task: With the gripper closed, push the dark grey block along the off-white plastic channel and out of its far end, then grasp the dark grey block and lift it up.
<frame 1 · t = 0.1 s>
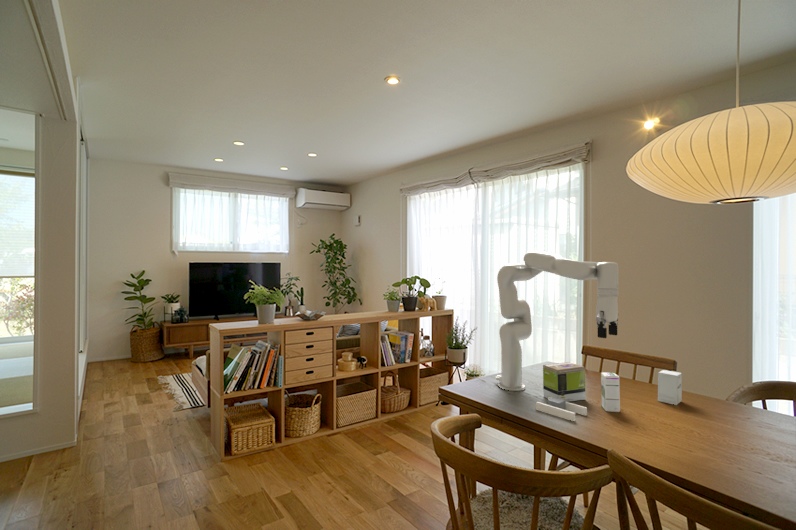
hand: (607, 336, 159), 31 cm above the table, tool pointing down, fingers open, 9 cm apart
tea box: (563, 398, 179), on the table
channel: (560, 412, 162), on the table
block: (556, 411, 163), on the table
supplement box: (669, 401, 175), on the table
syrup box: (610, 409, 165), on the table
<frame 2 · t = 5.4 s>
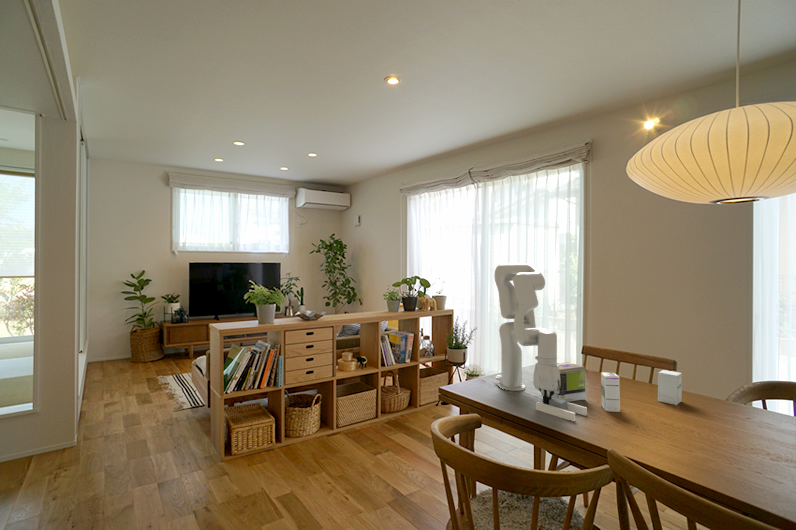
hand: (547, 405, 167), 1 cm above the table, tool pointing down, fingers closed
block: (558, 411, 163), on the table, touching gripper
everything else where it was.
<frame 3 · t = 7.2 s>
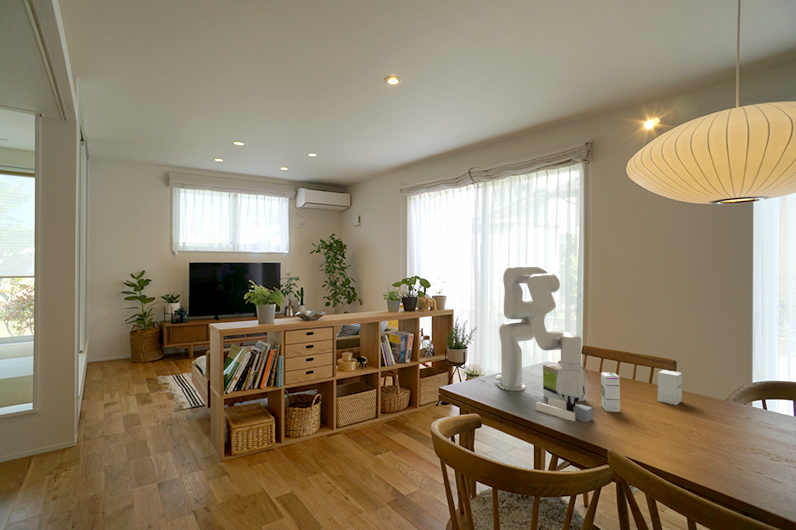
hand: (570, 412, 159), 1 cm above the table, tool pointing down, fingers closed
block: (583, 419, 155), on the table, touching gripper
everything else where it was.
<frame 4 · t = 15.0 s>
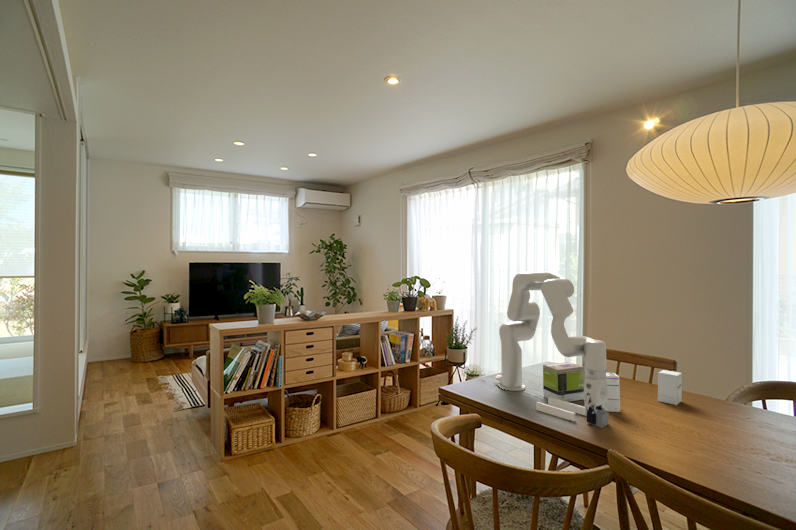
hand: (594, 420, 151), 1 cm above the table, tool pointing down, fingers closed on block, 5 cm apart
block: (598, 423, 150), on the table, touching gripper
everything else where it was.
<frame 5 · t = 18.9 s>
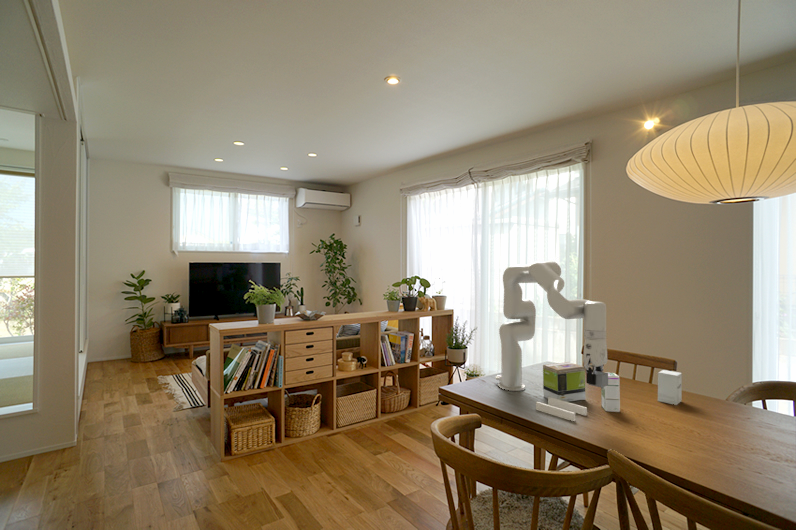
hand: (594, 382, 151), 15 cm above the table, tool pointing down, fingers closed on block, 5 cm apart
block: (598, 384, 150), point 15 cm above the table, touching gripper
everything else where it was.
at the end: the gripper is holding block; block point 14.6 cm above the table; block inside the target area (1.7 cm from its centre), point 14.6 cm above the table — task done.
